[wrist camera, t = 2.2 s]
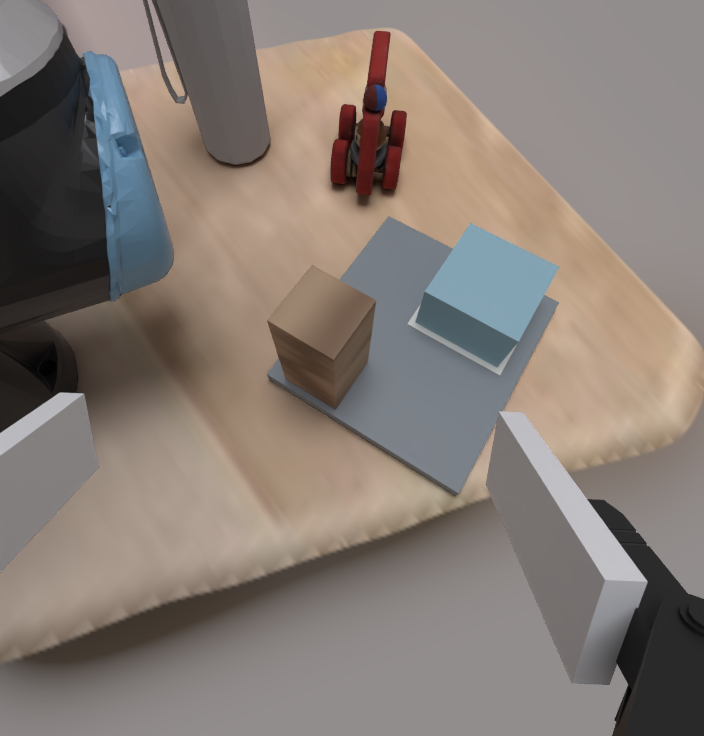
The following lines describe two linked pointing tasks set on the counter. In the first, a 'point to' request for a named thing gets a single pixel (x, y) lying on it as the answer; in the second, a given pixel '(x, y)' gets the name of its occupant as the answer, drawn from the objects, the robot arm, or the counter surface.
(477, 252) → the teal block
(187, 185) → the counter surface
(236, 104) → the water bottle
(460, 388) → the slate board
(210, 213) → the counter surface
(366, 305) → the walnut block
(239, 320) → the counter surface
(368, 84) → the toy fire truck
